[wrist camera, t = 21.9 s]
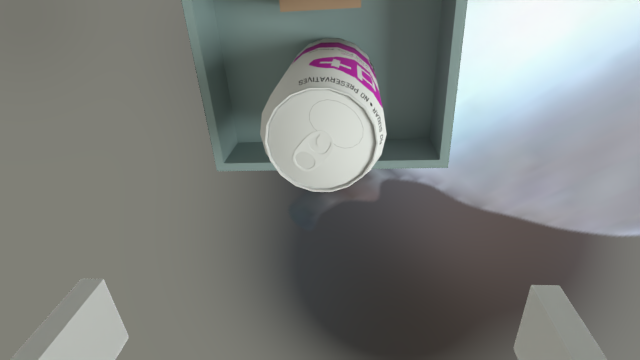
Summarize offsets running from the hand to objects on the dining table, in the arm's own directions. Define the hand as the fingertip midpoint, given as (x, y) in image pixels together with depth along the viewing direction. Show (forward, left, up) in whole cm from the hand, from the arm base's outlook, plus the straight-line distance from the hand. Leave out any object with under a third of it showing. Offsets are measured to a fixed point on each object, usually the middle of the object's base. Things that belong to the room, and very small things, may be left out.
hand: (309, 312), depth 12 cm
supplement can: (0, -1, -28) cm, 28 cm away
